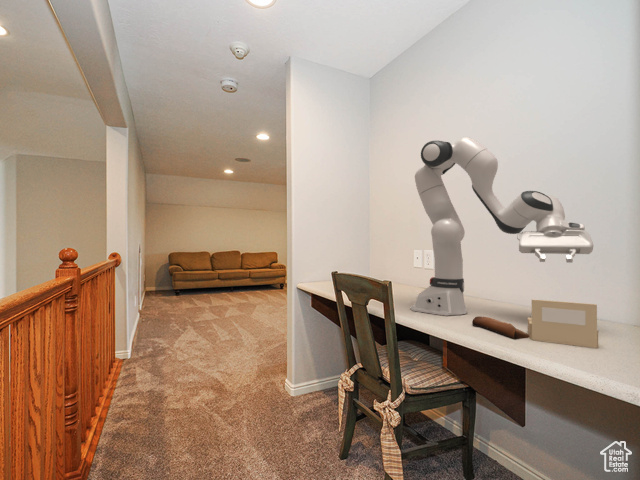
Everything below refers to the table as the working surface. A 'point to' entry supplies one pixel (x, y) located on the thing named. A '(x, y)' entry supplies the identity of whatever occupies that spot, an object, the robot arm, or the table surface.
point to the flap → (564, 323)
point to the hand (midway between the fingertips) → (555, 261)
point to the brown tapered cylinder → (499, 327)
